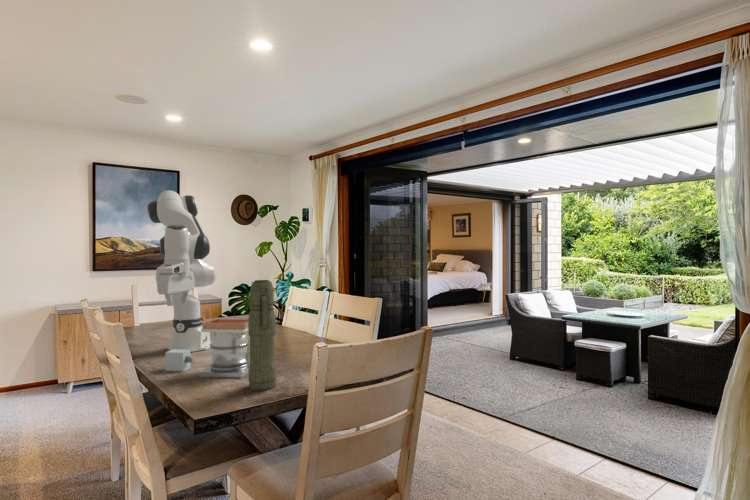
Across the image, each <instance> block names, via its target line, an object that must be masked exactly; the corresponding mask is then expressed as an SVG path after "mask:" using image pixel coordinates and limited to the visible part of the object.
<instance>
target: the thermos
mask: <svg viewBox="0 0 750 500" xmlns="http://www.w3.org/2000/svg"><path fill="white" fill-rule="evenodd" d="M274 290H275V289H274V286H273V283H272V281H270V280H269V279H256V280H254V281H253V282H251V286H250V289H249V305H250V309H249V311H250V312H249V315H248V337H249V355H250V356H249V357H250V358H249V362H250V365H249V373H248V381H249V386H248V388H249V389H250V390H251V391H259V392H260V391H268V390H272V389H275V388H277V387H276V386H277V381H276V380H277V364H276V362H275V358H276V357H275V349H276V348H275V347H276V346H275V335H276V332H277V322H276V321H277V317H276V313H275V308H274V304H275V299H274V298H275V295H274V293H275V291H274Z"/></svg>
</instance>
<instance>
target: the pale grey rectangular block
mask: <svg viewBox="0 0 750 500" xmlns="http://www.w3.org/2000/svg"><path fill="white" fill-rule="evenodd" d="M164 358H165V372H184V371H187V370H188V369H190V368H191V363H193V361H194V356H193V355H191V352H190V350H179V349H173V350H167V351H166V352H165V357H164Z"/></svg>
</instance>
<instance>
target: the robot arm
mask: <svg viewBox="0 0 750 500" xmlns="http://www.w3.org/2000/svg"><path fill="white" fill-rule="evenodd" d="M198 212H199V203H198V201H197V199H196V198H195V197H194V196H193V195H190V194H189V195H188V194H187V195H184V196H183V195H181V196H180V194H179V193H178V192H176V191H174V190H170V189H169V190H164V191H162V192H161V193H160V194H159V196H158V197H157V200H156V199H155V200H152V201H150V202H149V203H148V204H147V207H146V213H147V216H148V218H149V219H150V221H151V222H152V223H154V224H162V225H163V226H165V229H164V230H165V231H164V232H165V233H164V236H163V237H161V238H160V239H159V255H161V257H163V258H164V261H163V262H164V263H162V264H161V265H160V266H158V267H157V268H156V272H155V281H156V291H157V293H158V294H159V295H161V296H162V295H163V296H164V298H165V300H166V305H167V307H172V306H173V307H172V308H173V319H172V327H173V328H172V329H171V331H170V337H169V346H167V351H170V350H173V349H179V350H190V353H193V352H199V351H208V350H209V349H211V348H210V344H211V332H201V329H202V323H203V322H205V319H206V318H205V317H204V316H203V317H202V316H201V302H200V300H199V299H198V298H197V297H196V296H194V295H192V294H190V291H194V290H195V289H196V288H203V287H207V286H212V285H213V284H214V283H215V281H216V278H217V271H216V269H215V267H214V266H213V265H212V264H209V263H208V262H206V261H205V260H204V259H205V258H206V257H207V256H208V255H209V254H210V251H211V243H210V241H209V239H208V237H207V236H206V235H205V233H204V231H203V230H202V228H201V225H200V223H199V222H198V220H197V218H196V217H197V215H198V214H199V213H198Z"/></svg>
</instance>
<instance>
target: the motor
mask: <svg viewBox="0 0 750 500" xmlns="http://www.w3.org/2000/svg"><path fill="white" fill-rule="evenodd" d="M201 332H209V333H210V341H211V344H210V348H209V349H210V360H211V362H210V363H211V364H210V365H209V366H208V367H205V368H204V369H201V371H199V372H198V378H199V377H200V378H202V377H203V378H234V379H235V378H236V379H237V378H238V379H242V378H243V377H245V376H246V375H249V365H250V361H249V346H250V340H249V333H248V319H247V318H214V319H211V320H208V321H204V322H202V329H201Z"/></svg>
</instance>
